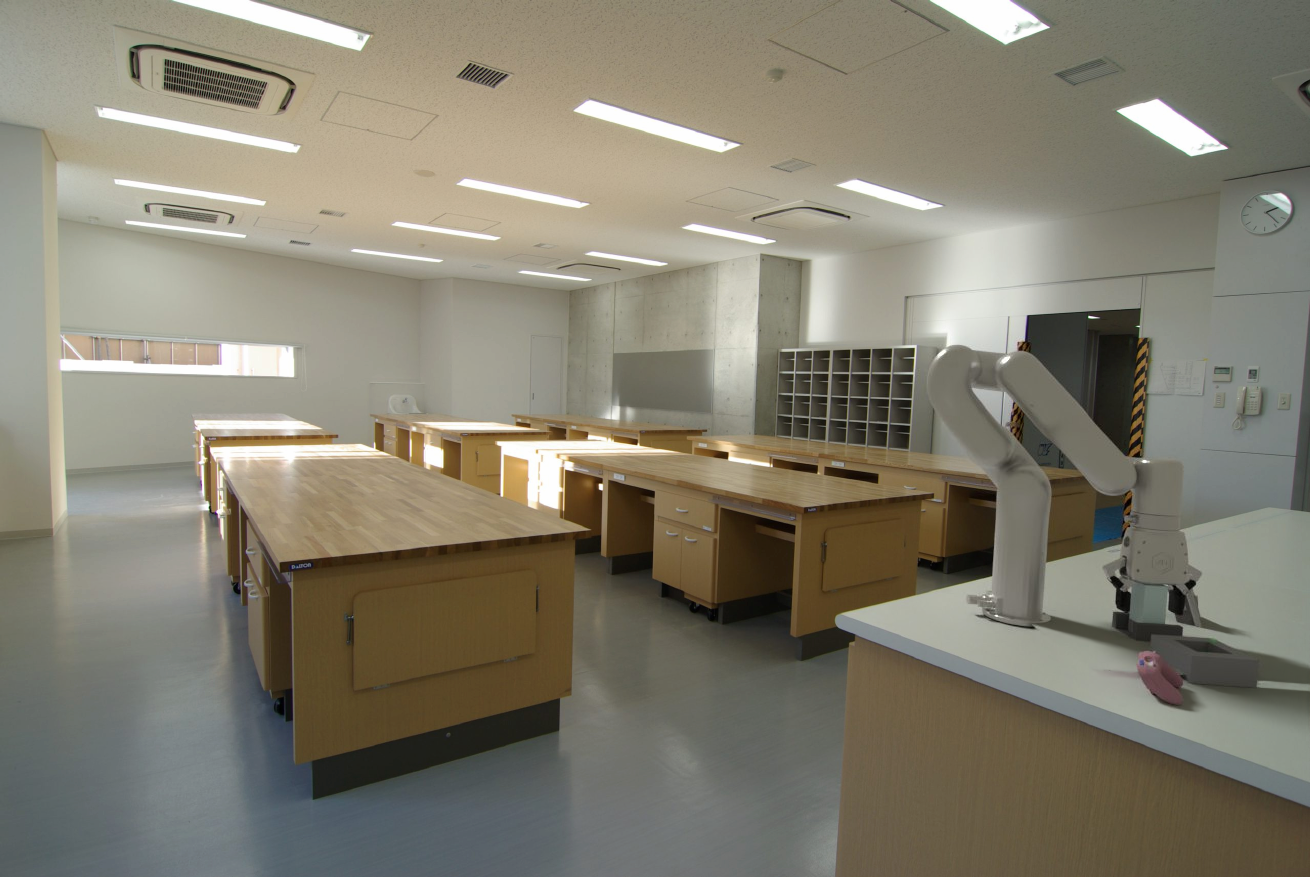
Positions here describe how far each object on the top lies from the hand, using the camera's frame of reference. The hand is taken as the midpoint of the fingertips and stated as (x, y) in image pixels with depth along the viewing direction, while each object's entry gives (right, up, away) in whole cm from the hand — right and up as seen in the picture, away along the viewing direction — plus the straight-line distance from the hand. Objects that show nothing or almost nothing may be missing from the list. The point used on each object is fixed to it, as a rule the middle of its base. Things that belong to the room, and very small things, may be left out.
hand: (1149, 611), depth 126 cm
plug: (0, -4, 0) cm, 4 cm away
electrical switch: (+16, -6, +11) cm, 20 cm away
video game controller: (-16, -7, -23) cm, 29 cm away
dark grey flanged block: (0, -5, 0) cm, 5 cm away
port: (-3, -6, -15) cm, 17 cm away
